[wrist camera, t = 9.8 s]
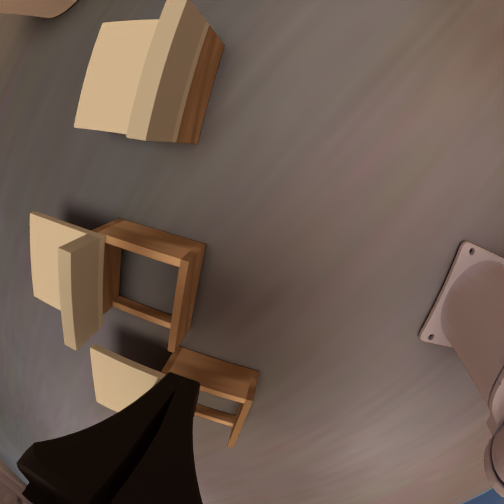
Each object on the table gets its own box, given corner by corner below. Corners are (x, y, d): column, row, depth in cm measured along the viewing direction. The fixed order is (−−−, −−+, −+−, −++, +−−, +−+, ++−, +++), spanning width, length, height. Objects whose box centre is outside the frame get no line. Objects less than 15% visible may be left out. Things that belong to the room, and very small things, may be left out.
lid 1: (105, 235, 17) (70, 253, 14) (102, 325, 19) (76, 350, 16) (35, 211, 17) (1, 222, 14) (38, 292, 19) (11, 311, 16)
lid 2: (209, 25, 12) (187, -3, 9) (176, 142, 14) (145, 140, 11) (107, 25, 13) (74, 9, 9) (79, 127, 15) (41, 127, 12)
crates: (351, 74, 15) (362, 58, 12) (239, 420, 25) (232, 447, 22) (134, 40, 16) (108, 26, 13) (98, 366, 26) (80, 386, 22)
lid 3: (174, 377, 19) (156, 410, 16) (168, 428, 22) (154, 456, 19) (93, 343, 20) (69, 368, 17) (99, 397, 22) (81, 422, 19)
